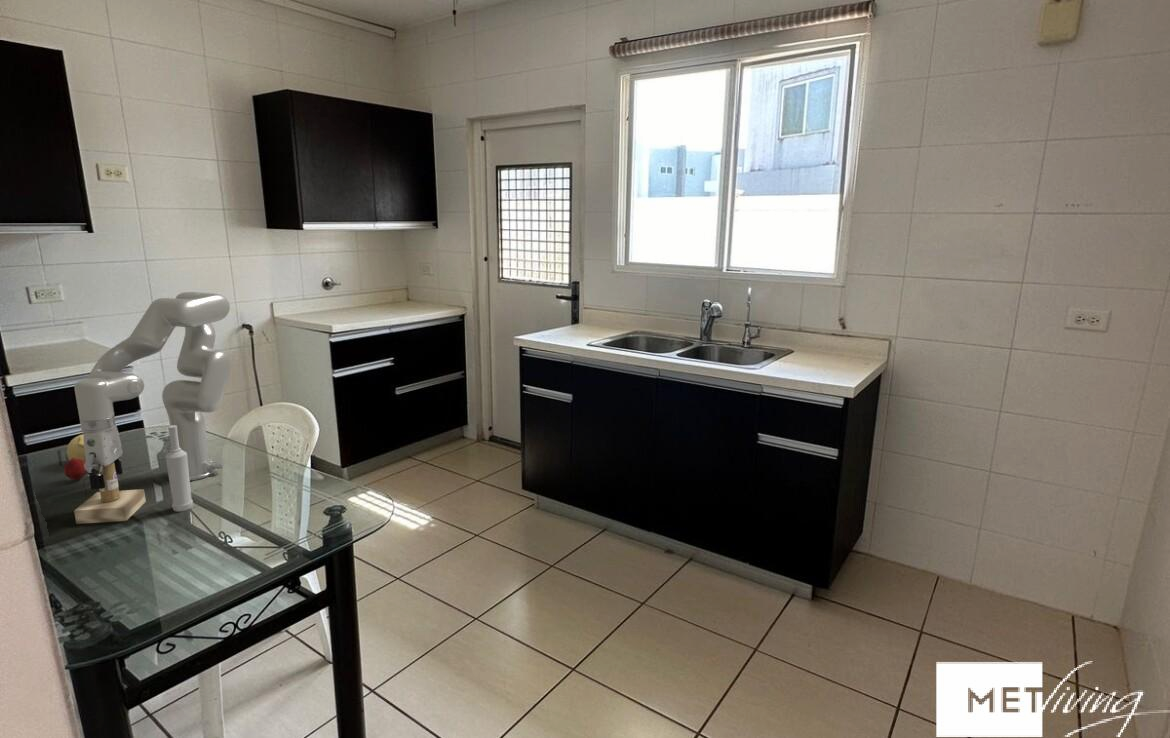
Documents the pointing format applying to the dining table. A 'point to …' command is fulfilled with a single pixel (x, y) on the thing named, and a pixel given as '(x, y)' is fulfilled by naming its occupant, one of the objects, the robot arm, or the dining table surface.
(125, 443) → the dining table surface
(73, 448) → the sculpture
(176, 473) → the bottle
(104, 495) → the sprinkles bottle
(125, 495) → the wooden base
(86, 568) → the dining table surface
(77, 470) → the red rounded lump
